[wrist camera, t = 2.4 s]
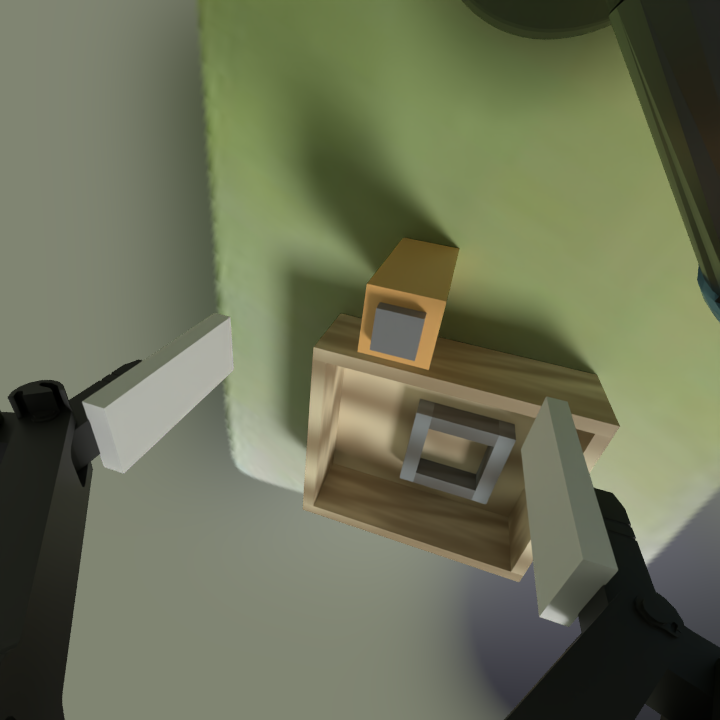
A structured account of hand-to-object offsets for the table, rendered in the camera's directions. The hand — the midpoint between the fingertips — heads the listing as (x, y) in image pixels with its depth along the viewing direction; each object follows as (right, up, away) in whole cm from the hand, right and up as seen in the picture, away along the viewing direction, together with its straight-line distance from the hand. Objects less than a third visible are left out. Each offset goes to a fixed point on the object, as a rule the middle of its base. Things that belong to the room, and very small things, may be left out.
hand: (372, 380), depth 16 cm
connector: (+4, +7, +12) cm, 15 cm away
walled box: (+6, -5, +19) cm, 21 cm away
